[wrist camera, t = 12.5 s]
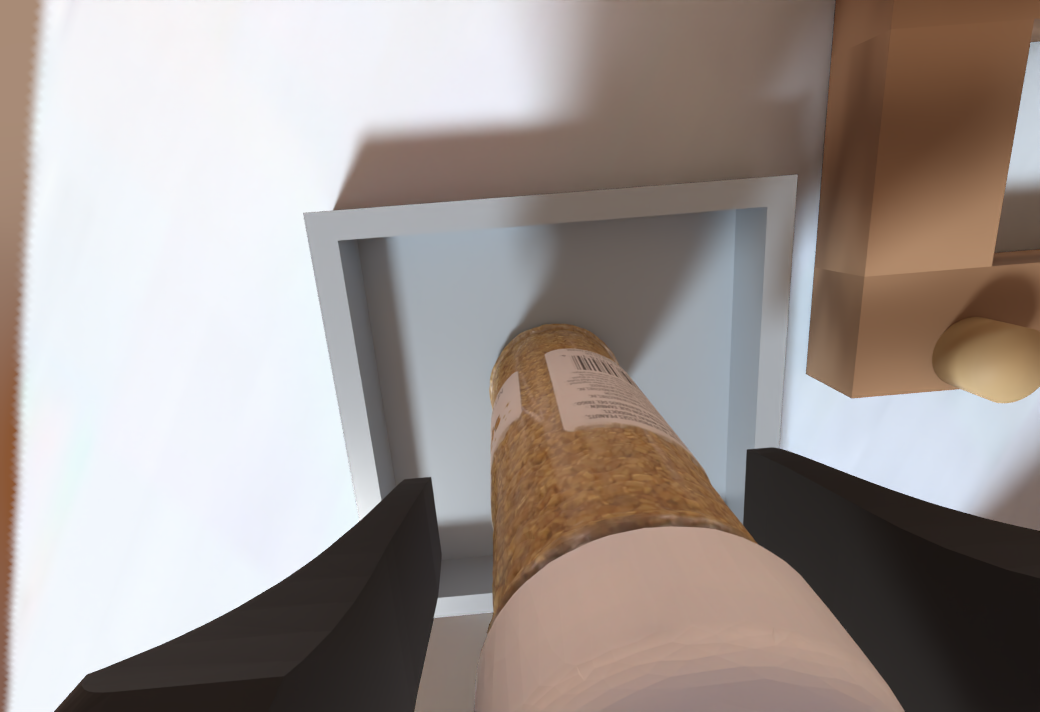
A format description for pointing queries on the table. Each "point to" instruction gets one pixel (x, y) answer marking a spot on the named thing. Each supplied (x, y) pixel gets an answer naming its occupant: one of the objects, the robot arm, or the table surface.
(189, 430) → the table surface
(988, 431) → the table surface
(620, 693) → the sprinkles bottle
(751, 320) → the tray
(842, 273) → the socket block
